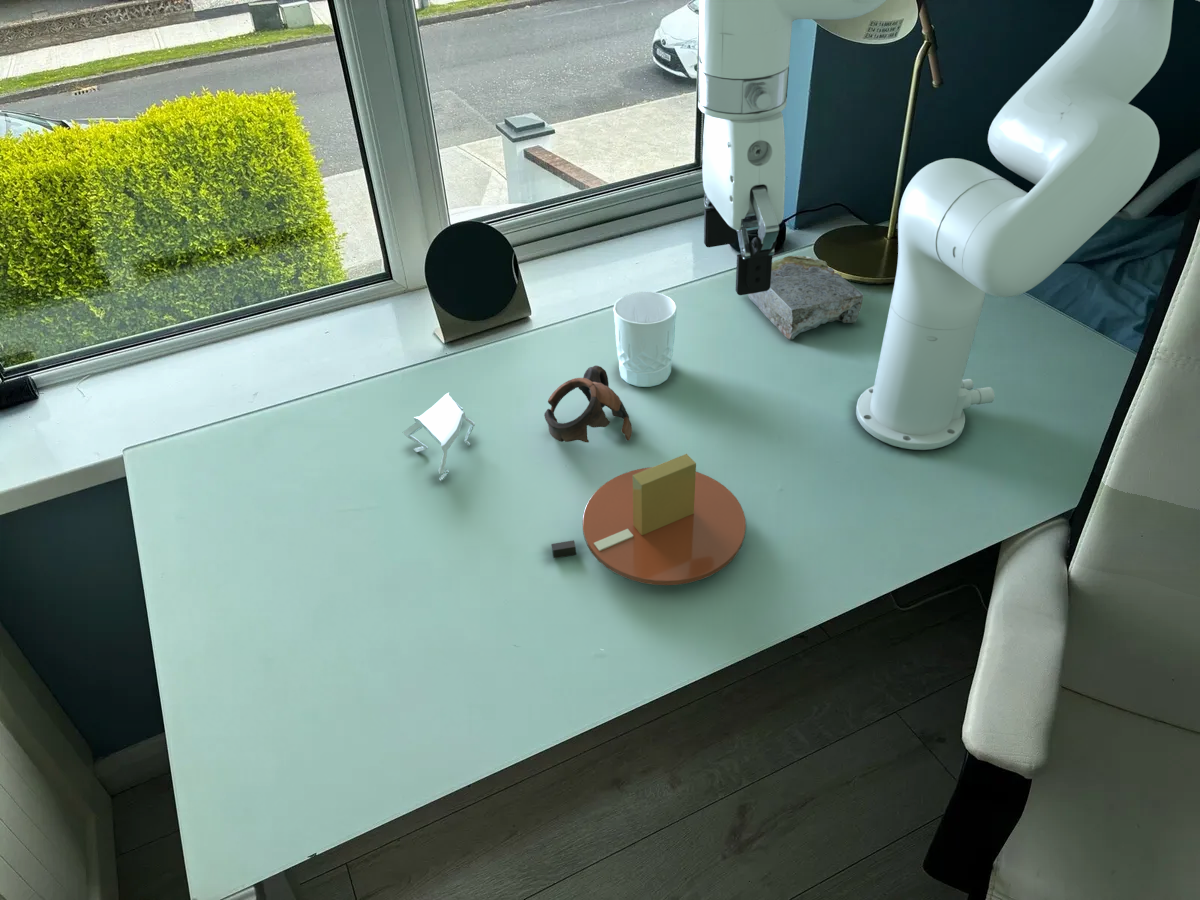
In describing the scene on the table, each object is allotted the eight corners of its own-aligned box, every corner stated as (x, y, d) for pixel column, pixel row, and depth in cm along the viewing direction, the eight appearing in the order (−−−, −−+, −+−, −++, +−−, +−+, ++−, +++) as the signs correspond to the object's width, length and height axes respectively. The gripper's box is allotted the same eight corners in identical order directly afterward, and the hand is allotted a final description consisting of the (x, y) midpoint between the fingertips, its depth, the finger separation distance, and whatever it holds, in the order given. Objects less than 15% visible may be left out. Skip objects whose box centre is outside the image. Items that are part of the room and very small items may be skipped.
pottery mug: (636, 459, 106) (601, 421, 100) (568, 478, 110) (531, 442, 105) (640, 380, 113) (607, 341, 107) (576, 401, 117) (541, 363, 111)
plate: (778, 544, 92) (786, 488, 87) (635, 610, 86) (634, 554, 81) (687, 452, 103) (689, 398, 98) (555, 504, 97) (550, 450, 92)
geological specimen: (796, 313, 119) (743, 259, 130) (792, 350, 124) (740, 295, 134) (866, 294, 122) (808, 242, 132) (859, 331, 126) (804, 278, 137)
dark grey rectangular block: (696, 498, 100) (696, 487, 99) (722, 563, 92) (723, 552, 91) (545, 522, 98) (544, 511, 97) (560, 590, 90) (559, 579, 89)
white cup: (685, 366, 120) (687, 300, 113) (656, 397, 115) (656, 330, 108) (634, 350, 123) (634, 285, 117) (603, 379, 118) (601, 313, 112)
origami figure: (401, 434, 111) (394, 402, 107) (467, 418, 113) (462, 386, 109) (420, 495, 102) (413, 462, 99) (491, 477, 104) (487, 444, 101)
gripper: (825, 116, 70) (806, 305, 81) (750, 52, 83) (743, 222, 94) (733, 129, 69) (726, 319, 81) (672, 62, 82) (673, 233, 94)
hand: (735, 267), depth 87 cm, fingers open, 9 cm apart
